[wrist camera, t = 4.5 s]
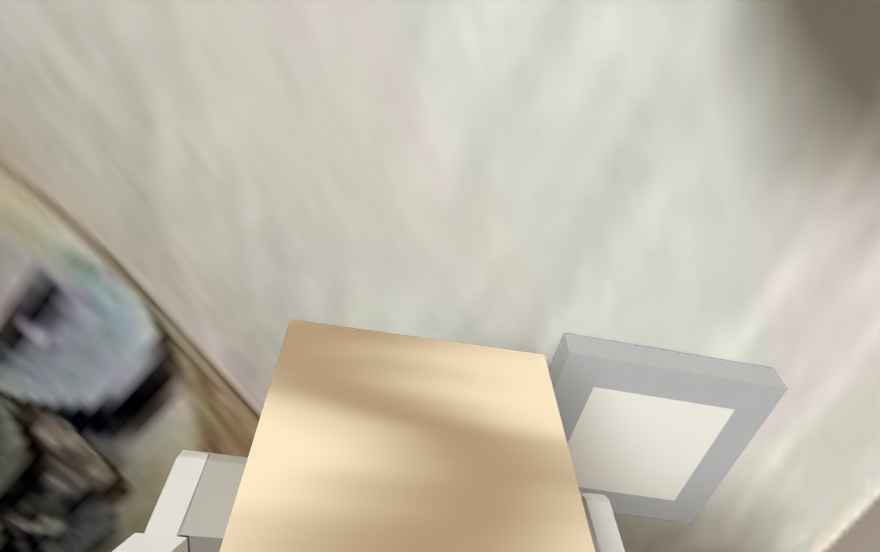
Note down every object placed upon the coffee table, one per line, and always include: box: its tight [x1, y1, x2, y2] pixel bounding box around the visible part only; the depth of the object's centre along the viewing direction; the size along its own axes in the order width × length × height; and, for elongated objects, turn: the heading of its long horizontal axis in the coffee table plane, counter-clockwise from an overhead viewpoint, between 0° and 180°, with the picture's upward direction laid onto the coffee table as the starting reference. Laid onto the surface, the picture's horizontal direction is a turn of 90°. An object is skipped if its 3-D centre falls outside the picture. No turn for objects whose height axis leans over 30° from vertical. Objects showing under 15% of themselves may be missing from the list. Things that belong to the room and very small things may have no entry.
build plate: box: [549, 333, 787, 524], centre depth 25 cm, size 9×9×1 cm
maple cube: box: [219, 319, 595, 552], centre depth 10 cm, size 5×5×5 cm
